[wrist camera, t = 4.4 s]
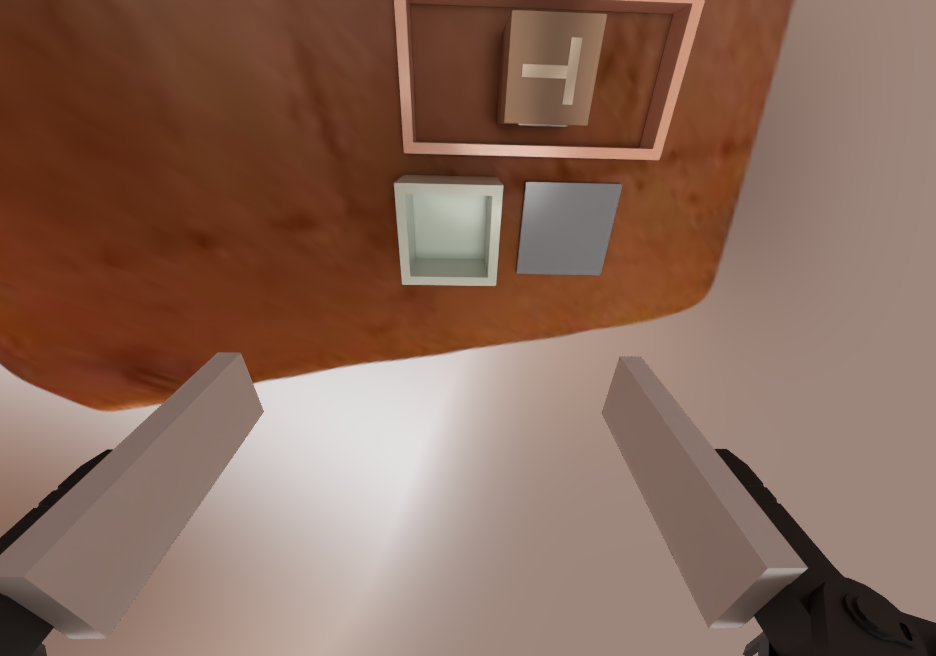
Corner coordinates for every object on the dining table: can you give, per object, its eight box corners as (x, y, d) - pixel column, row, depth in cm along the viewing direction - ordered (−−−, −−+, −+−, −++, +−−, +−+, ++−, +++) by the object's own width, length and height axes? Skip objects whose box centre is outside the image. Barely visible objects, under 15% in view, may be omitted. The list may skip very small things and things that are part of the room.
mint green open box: (409, 263, 35) (402, 284, 31) (403, 174, 31) (393, 182, 26) (491, 265, 36) (495, 285, 31) (496, 176, 31) (503, 185, 26)
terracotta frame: (407, 151, 30) (403, 153, 28) (398, -12, 25) (392, -26, 22) (645, 157, 31) (659, 159, 28) (687, -1, 25) (708, -12, 23)
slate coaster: (515, 271, 36) (516, 273, 36) (525, 180, 31) (526, 181, 31) (598, 273, 36) (600, 275, 36) (619, 183, 32) (622, 184, 31)
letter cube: (496, 125, 29) (504, 124, 24) (501, 33, 26) (512, 9, 21) (564, 127, 29) (587, 127, 24) (578, 36, 26) (607, 13, 21)
